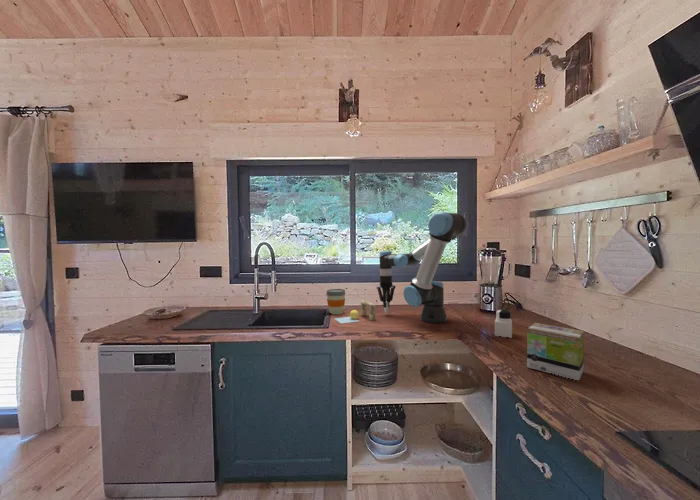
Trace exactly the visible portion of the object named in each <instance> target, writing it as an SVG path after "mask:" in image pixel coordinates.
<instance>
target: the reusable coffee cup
mask: <svg viewBox="0 0 700 500" xmlns="http://www.w3.org/2000/svg"><path fill="white" fill-rule="evenodd" d="M345 296H346V290H345V289H341V288H332V289H331V288H330V289H327V290H326V297H327V299H326V301H327V306H328V311H329V314H330V313H331V314H330V315H341V314H343V313H344V307H345V303H346V298H345Z"/></svg>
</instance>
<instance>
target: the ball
mask: <svg viewBox="0 0 700 500" xmlns="http://www.w3.org/2000/svg"><path fill="white" fill-rule="evenodd" d="M359 316H360V313H359V311H358V310H356V309H353V310H351V311H350V312H349V317H351V318H352V319H357V320H358V318H359Z"/></svg>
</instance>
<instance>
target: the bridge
mask: <svg viewBox="0 0 700 500" xmlns="http://www.w3.org/2000/svg"><path fill="white" fill-rule="evenodd" d="M367 307H368V308H367ZM367 309H368V310H367ZM367 311H368V312H367ZM367 313H368V314H367ZM360 315H361V316H362V317H363V316H367V315H368V320H369V321H376V304H374V303H372V302H370V301H367V300H360Z"/></svg>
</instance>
